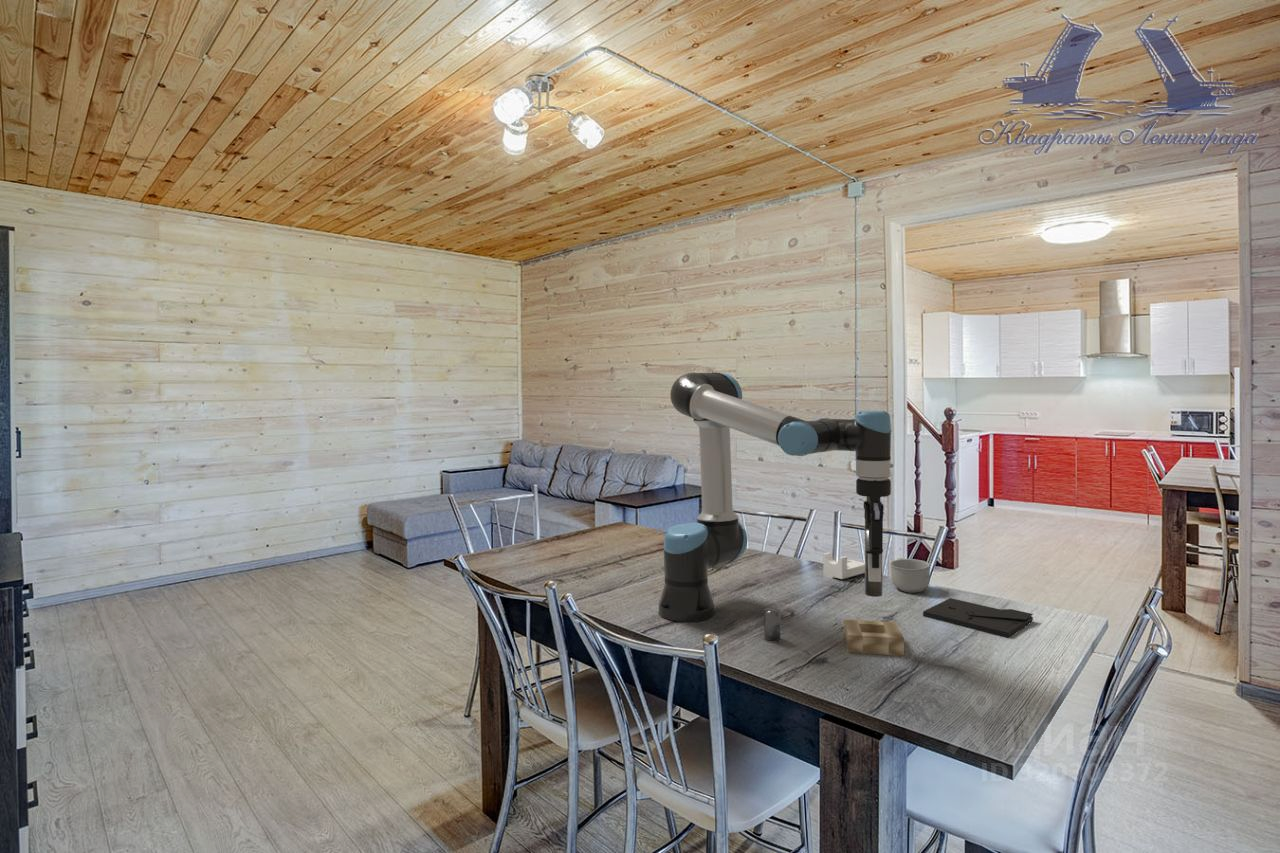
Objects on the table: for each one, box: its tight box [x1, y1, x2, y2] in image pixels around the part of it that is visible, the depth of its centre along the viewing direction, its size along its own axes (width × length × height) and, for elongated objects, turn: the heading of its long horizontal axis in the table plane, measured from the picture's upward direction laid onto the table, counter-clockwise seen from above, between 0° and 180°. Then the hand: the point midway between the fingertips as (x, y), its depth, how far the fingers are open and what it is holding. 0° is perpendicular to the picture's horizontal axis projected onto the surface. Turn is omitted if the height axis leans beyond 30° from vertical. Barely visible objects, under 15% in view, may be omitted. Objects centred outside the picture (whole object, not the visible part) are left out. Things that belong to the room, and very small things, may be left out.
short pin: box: [763, 607, 781, 642], centre depth 159 cm, size 4×4×7 cm
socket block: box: [843, 619, 905, 656], centre depth 154 cm, size 12×10×4 cm
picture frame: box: [922, 597, 1034, 639], centre depth 170 cm, size 16×3×21 cm
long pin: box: [864, 528, 883, 598], centre depth 153 cm, size 4×4×15 cm
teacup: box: [889, 557, 931, 594], centre depth 196 cm, size 14×11×8 cm
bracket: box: [822, 552, 865, 580], centre depth 211 cm, size 13×7×8 cm, turn 125°
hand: (873, 578), depth 153 cm, fingers closed on long pin, 4 cm apart
